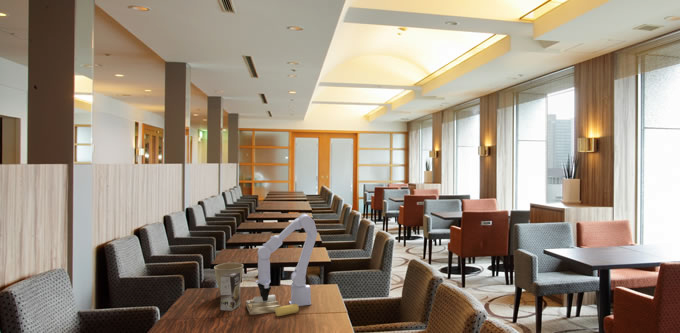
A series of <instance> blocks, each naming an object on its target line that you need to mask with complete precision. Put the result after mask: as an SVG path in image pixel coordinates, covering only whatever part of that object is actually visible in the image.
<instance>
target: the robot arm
mask: <svg viewBox="0 0 680 333" xmlns="http://www.w3.org/2000/svg"><path fill="white" fill-rule="evenodd" d="M302 228H303V230H304V231H305V233H306V237H305V240H304V243H303V246H302V249H301V252H300V256H299V259H298V262H297V265H296V266H295V268H294V270H293V271H292V273H291V274H290V279H291V281H292V283H291V284H290V300H289V301H288V303H289V305H292V304H297V305H298V307H303V306H310V305H312V300H311V299H312V297H311V296H312V294H311V293H312V290H311V286H310V285H309V284H306V275H307V270H308V269H307V268H308V265H309V262H310V259H311V256H312V253H313V249H314V247H315V243H316V240H317V237H318V230H317V226H316V223H315V221H314V219H313V218H312V217H311V216H310V215H309V214H308V213H303V214H300V215H299V217H296V218H295V219H294V220H293V221H291V222H290V223H289V224H288V225H287V226H286V227H285V228H284V229H283V230H282V231H281V232H280V233H279V234H277V235H276V234H275V235H271V236H270V239H269V240H267V242H265V243H262V245H261V246H260V247H259V248H258V249H257V256H258V258H257V260H258V262H257V276H258V277H257V280H255V283H256V284H257V287H258V289H259V294H260V296H262V299H263V301H267V300H268V295H270V291H271V289H272V286H271V285H270V283H271V261H270V257H271V254H273V253H274V252H275V251H276V250H277V249H279V248H280V247H281V246H282V245H283V241H284V240H285V239H286V238H287V237H288V236H290V235H291V234H293V232H294V231H296V230H297V231H298V230H302Z"/></svg>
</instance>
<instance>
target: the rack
mask: <svg viewBox="0 0 680 333" xmlns="http://www.w3.org/2000/svg"><path fill="white" fill-rule="evenodd" d="M245 306H246V309H247V311H248V314H249V315H259V314H260V315H261V314H268V313H270V314H271V313H275V309H276V308H277V307H282V306H281V304H279V301H278V300H276V301H273V302H264V303H255V304H254V299H249V300H247V299H246V301H245Z"/></svg>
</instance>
